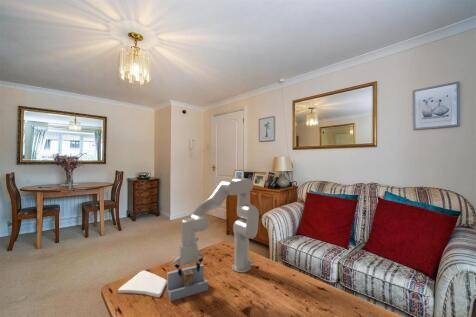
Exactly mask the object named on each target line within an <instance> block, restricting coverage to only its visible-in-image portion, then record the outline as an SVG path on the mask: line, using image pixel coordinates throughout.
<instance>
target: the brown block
mask: <svg viewBox="0 0 476 317" xmlns="http://www.w3.org/2000/svg"><path fill="white" fill-rule="evenodd" d="M190 285H193V272H192V270H191V269H190V270H186V271H183V287H186V286H190Z"/></svg>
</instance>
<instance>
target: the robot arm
mask: <svg viewBox="0 0 476 317" xmlns="http://www.w3.org/2000/svg"><path fill="white" fill-rule="evenodd" d="M253 188H254V182H253V181H252V180H251V179H250V178H245V177H244V178H243V177H233V178H232V179H231V180H226V179H224V180H222V181H220V182H219V183H218V185H217V186H216V188H215V189H214V190H213V192H212V193H211V195H210V196H209V198H207V199H205V201H203V202H202V203H201V204H199V205H198V206H197V207H196V208H195V210H194V211H193V212H192V214H191V215H190V217H189V218H183V219H182V220H181V223H180V227H181V228H180V232H181V243H180V245H179V250H178V257H177V258H175V259H174V260H173V261H172V264H173V265H174V267H175V268H176V270H178V275H180V277H181V276H182V269H183V268H182V267H183V266H186V265H190V264H193V263H196V264H195V266H196V269H197V271H198V272H199V269H200V265H201V263H202V261H204V257H205V253H202V252H199V246H198V243H197V241H199V238H198V237H196V235H197V234H196V233H197V232H204V231H207V230H209V229H210V227H211V222H210V221H211V220H209V219H208V218H207V217H206V216H205V215H206V214H207V213H208V212H210V211H212V210H215V209H218V208H220V207H222V205H223V203H224V202H225V201H226V199H227V197H228V196H229V195H230V196H237V202H236V203H237V204H236V214H237V217H239V218H240V219H239V218H238V219H237V220H235V221H234V223H233V227H232V229H233V230H232V231H233V235H234V236H233V237H234V256H233V257H234V258H233V259H234V261H233V262H234V263H233V264H232V265H231V268H232V270H233V271H235V272H236V273H247V272H249V271H250V270H251V269H252V266H251V264H255V262H256V260H255V259H251V258H249V254H250V252H249V251H250V250H249V248H250V240H249V239H254V238H255V237H257V234H258V230H259V218H260V217H259V216H260V213H259V209H258V208H257V206H255V205H252V204H251V194H250V192H251V191H252V190H253ZM178 262H179V263H178Z"/></svg>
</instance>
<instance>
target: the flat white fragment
mask: <svg viewBox="0 0 476 317" xmlns="http://www.w3.org/2000/svg"><path fill="white" fill-rule="evenodd" d="M165 287H167V278H166V279H165V278H163V277H162V276H159V275H157V274H155V273H153V272H150V271H147V270H146V269H145V270H141V271H139V272H137V274H135V276H133V277H132V278H131V279H129V280H128V281H126V282H125V283H124V284H123V285H121V286H120V287H119V288H118V289H117V292H118V293H119V294H138V295H139V294H140V295H147V296H151V297H155V298H160V297H161V296H162V295H163V293H164V289H165Z"/></svg>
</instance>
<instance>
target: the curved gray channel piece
mask: <svg viewBox="0 0 476 317" xmlns="http://www.w3.org/2000/svg"><path fill="white" fill-rule="evenodd" d="M204 266H205V265H204V264H200V269H199V272H198V271H197V269H196V265H192V266H189V267H188V266H187V267H183V268H181V269H182V276H181V277H180V275H178V269H176V270H171V271H168V272H166V277H167V278H166V280H167V284H166V292H167V295H168V299H169V301H170V302H172V301H176V300H179V299H183V298H186V297H189V296H193V295H196V294H199V293H202V292H206V291H207V292H208V290H209V281H208V280H205V278H204V275H205V274H204V270H205V268H204ZM190 269H191V270H192V272H193V285H190V286H186V287H183V271H186V270H190Z"/></svg>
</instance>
